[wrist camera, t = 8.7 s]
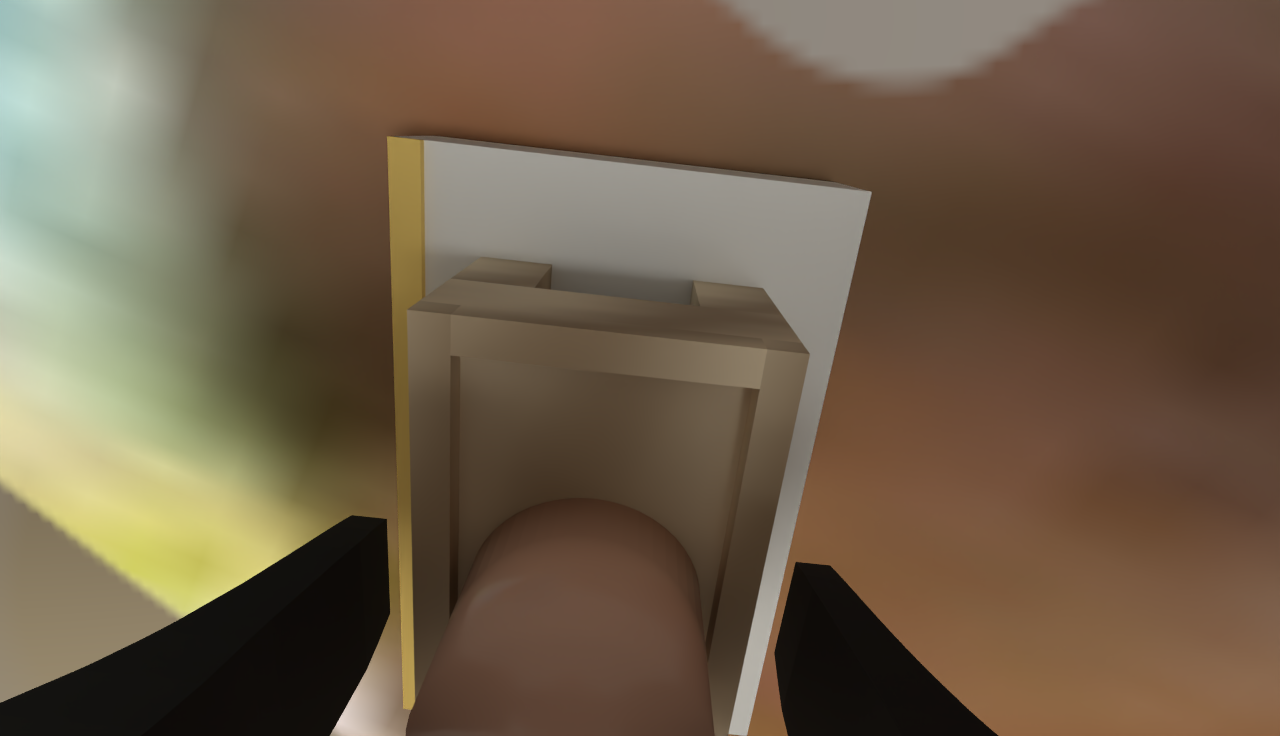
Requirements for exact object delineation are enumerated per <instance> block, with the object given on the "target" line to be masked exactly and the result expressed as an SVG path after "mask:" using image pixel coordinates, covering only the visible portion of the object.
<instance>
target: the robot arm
mask: <svg viewBox="0 0 1280 736" xmlns="http://www.w3.org/2000/svg"><path fill="white" fill-rule="evenodd" d="M389 615H390V597H389V569H388V542H387V519H382V518H372V517H363V516H353V515H352V516H350V517H348V518H346V519H345V520H343V521H341V522H340V523H338V524H336V525H335V526H333V527H331V528H330V529H328V530H327V531H325V532H323V533H322V534H320V535H319V536H317V537H316V538H314V539H313V540H311V541H309V542H308V543H306V544H305V545H303V546H302V547H300V548H298V549H297V550H295V551H294V552H292V553H291V554H289V555H287V556H286V557H284V558H283V559H281V560H279V561H278V562H276V563H275V564H273V565H271V566H270V567H268V568H267V569H265V570H263V571H262V572H260V573H259V574H257V575H255V576H254V577H252V578H251V579H249V580H247V581H246V582H244V583H242V584H241V585H239V586H237V587H235V588H234V589H232V590H230V591H228V592H227V593H225V594H223V595H221V596H220V597H218V598H216V599H214V600H213V601H211V602H209V603H207V604H206V605H204V606H202V607H200V608H199V609H197V610H195V611H193V612H192V613H190V614H188V615H186V616H185V617H183V618H181V619H179V620H178V621H176V622H174V623H172V624H170V625H168V626H166V627H165V628H163V629H161V630H159V631H157V632H155V633H153V634H151V635H149V636H147V637H145V638H143V639H141V640H139V641H137V642H135V643H133V644H131V645H129V646H127V647H125V648H123V649H121V650H119V651H117V652H115V653H113V654H111V655H109V656H106V657H104V658H102V659H100V660H98V661H96V662H94V663H92V664H90V665H88V666H85V667H83V668H81V669H79V670H76V671H74V672H72V673H69V674H67V675H65V676H62V677H60V678H58V679H55V680H53V681H51V682H48V683H46V684H44V685H41V686H39V687H36V688H34V689H32V690H29V691H27V692H25V693H22V694H20V695H18V696H16V697H13V698H11V699H8V700H6V701H4V702H1V703H0V736H330V734H331V732H332V730H333V729H334V727H335V725H336V723H337V722H338V720H339V718H340V716H341V715H342V713H343V711H344V709H345V708H346V706H347V704H348V702H349V700H350V699H351V697H352V695H353V693H354V691H355V690H356V688H357V686H358V684H359V683H360V681H361V679H362V677H363V675H364V673H365V672H366V670H367V668H368V665H369V663H370V661H371V658H372V656H373V654H374V651H375V649H376V647H377V644H378V642H379V639H380V637H381V634H382V632H383V629H384V627H385V625H386V622H387V620H388V617H389ZM774 653H775V661H776V669H777V678H778V686H779V693H780V700H781V707H782V712H783V717H784V721H785V725H786V729H787V733H788V736H998V735H997V734H996V733H994V732H993V731H992V730H991V729H990V728H989V727H987V726H986V725H985V724H984V723H983V722H982V721H981V720H980V719H978V718H977V717H976V716H975V715H974V714H973V713H972V712H971V711H969V710H968V709H967V708H966V707H965V706H964V705H963V704H962V703H961V702H960V701H959V700H958V699H957V698H956V697H955V696H954V695H953V694H952V693H951V692H949V691H948V690H947V689H946V688H945V687H944V686H943V685H942V684H941V683H940V682H939V681H938V680H937V679H936V678H935V677H934V676H933V675H932V674H931V673H930V672H929V671H928V670H927V669H926V668H925V667H924V666H923V665H922V664H921V663H920V662H919V661H918V660H917V659H916V658H915V657H914V656H913V655H912V654H911V653H910V652H909V651H908V650H907V649H906V648H905V647H904V646H903V645H902V643H901V642H900V641H899V640H898V639H897V638H896V637H895V636H894V635H893V634H892V633H891V632H890V631H889V630H888V628H887V627H886V626H885V625H884V624H883V623H882V622H881V621H880V620H879V619H878V618H877V616H876V615H875V614H874V613H873V612H872V611H871V610H870V609H869V608H868V607H867V605H866V604H865V603H864V602H863V601H862V600H861V599H860V598H859V597H858V595H857V594H856V593H855V592H854V591H853V590H852V589H851V588H850V586H849V585H848V584H847V583H846V582H845V581H844V580H843V579H842V578H841V577H840V576H839V574H838V573H837V572H836V571H835V570H834V569H833V568H832V567H831V566H829V565H819V564H810V563H800V562H796V563H795V568H794V572H793V576H792V580H791V585H790V589H789V593H788V597H787V601H786V606H785V610H784V614H783V618H782V623H781V627H780V631H779V635H778V640H777V644H776V648H775V652H774Z"/></svg>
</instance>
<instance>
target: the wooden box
mask: <svg viewBox="0 0 1280 736" xmlns="http://www.w3.org/2000/svg"><path fill="white" fill-rule="evenodd" d="M551 276H552V264H543V263H534V262H525V261H516V260H507V259H498V258H489V257H480V258H479V259H477V260H476V261H474V262H473V263H472V264H470V265H469V266H467V267H466V268H465V269H463V270H462V271H460V272H459V273H458V274H456V275H455V276H453V277H452V278H451V279H449V280H448V281H446V282H445V283H444V284H442V285H441V286H439V287H438V288H437V289H435V290H434V291H432V292H431V293H430V294H428V295H427V296H425V297H424V298H423V299H421V300H420V301H418V302H417V303H416V304H414V305H413V306H411V307H410V308H409V309H407V335H408V384H409V433H410V482H411V531H412V581H413V630H414V679H415V701H416V698H417V696H418V693H419V691H420V689H421V686H422V684H423V681H424V679H425V677H426V674H427V672H428V669H429V667H430V665H431V662H432V660H433V658H434V655H435V653H436V650H437V648H438V646H439V643H440V641H441V638H442V636H443V634H444V631H445V629H446V626H447V624H448V622H449V619H450V617H451V614H452V612H453V610H454V607H455V605H456V602H457V600H458V598H459V595H460V593H461V591H462V588H463V586H464V583H465V581H466V579H467V576H468V574H469V571H470V569H471V567H472V564H473V562H474V560H475V557H476V555H477V553H478V551H479V549H480V548H481V546H482V544H483V543H484V541H485V540H486V539H487V538H488V536H489V535H490V534H491V533H492V532H493V531H494V530H495V529H496V528H497V527H498V526H499V525H501V524H502V523H503V522H504V521H505V520H507V519H509V518H510V517H512V516H513V515H515V514H517V513H518V512H521V511H523V510H525V509H527V508H529V507H532V506H535V505H538V504H541V503H544V502H549V501H554V500H559V499H570V498H590V499H599V500H605V501H610V502H614V503H618V504H621V505H625V506H627V507H630V508H632V509H635V510H637V511H640V512H641V513H643V514H645V515H647V516H649V517H650V518H652V519H654V520H655V521H657V522H658V523H659V524H661V525H662V526H663V527H665V528H666V529H667V530H668V531H669V532H670V533H671V534H672V535H673V536H674V537H676V539H677V540H678V541H679V542H680V544H681V545H682V546H683V547H684V549H685V550H686V552H687V554H688V555H689V557H690V559H691V560H692V563H693V565H694V568H695V570H696V573H697V577H698V581H699V587H700V597H701V606H702V616H703V626H704V636H705V645H706V655H707V665H708V675H709V684H710V694H711V704H712V714H713V723H714V733H715V736H728V733H729V729H730V724H731V719H732V715H733V710H734V705H735V701H736V696H737V691H738V687H739V682H740V678H741V673H742V668H743V664H744V659H745V654H746V650H747V645H748V640H749V636H750V631H751V626H752V622H753V617H754V612H755V608H756V603H757V599H758V594H759V589H760V585H761V580H762V575H763V571H764V566H765V561H766V557H767V552H768V547H769V543H770V538H771V534H772V529H773V524H774V520H775V515H776V510H777V506H778V501H779V496H780V492H781V487H782V482H783V478H784V473H785V468H786V464H787V459H788V455H789V450H790V445H791V441H792V436H793V431H794V427H795V422H796V417H797V413H798V408H799V403H800V399H801V394H802V389H803V385H804V380H805V376H806V371H807V366H808V362H809V357H810V353H809V352H808V351H807V349H806V348H805V346H804V345H803V343H802V342H801V341H800V339H799V338H798V336H797V335H796V334H795V332H794V331H793V329H792V328H791V327H790V325H789V324H788V322H787V321H786V320H785V318H784V317H783V315H782V314H781V313H780V311H779V310H778V308H777V307H776V306H775V304H774V303H773V301H772V300H771V298H770V297H769V296H768V294H767V293H766V291H765V290H764V289H763V288H757V287H748V286H739V285H730V284H721V283H712V282H703V281H694V280H693V285H692V292H691V299H690V305H685V304H676V303H667V302H658V301H649V300H640V299H631V298H622V297H613V296H604V295H595V294H586V293H577V292H568V291H559V290H551Z"/></svg>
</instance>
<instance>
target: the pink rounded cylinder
mask: <svg viewBox="0 0 1280 736" xmlns="http://www.w3.org/2000/svg"><path fill="white" fill-rule="evenodd" d="M406 736H715V733H714V723H713V714H712V704H711V694H710V684H709V675H708V665H707V655H706V645H705V636H704V626H703V616H702V606H701V597H700V587H699V581H698V577H697V573H696V570H695V568H694V565H693V563H692V560H691V559H690V557H689V555H688V554H687V552H686V550H685V549H684V547H683V546H682V545H681V544H680V542H679V541H678V540H677V539H676V537H674V536H673V535H672V534H671V533H670V532H669V531H668V530H667V529H666V528H665V527H663V526H662V525H661V524H659V523H658V522H657V521H655V520H654V519H652V518H650V517H649V516H647V515H645V514H643V513H641V512H640V511H637V510H635V509H632V508H630V507H627V506H625V505H621V504H618V503H614V502H610V501H605V500H599V499H590V498H570V499H559V500H554V501H549V502H544V503H541V504H538V505H535V506H532V507H529V508H527V509H525V510H523V511H521V512H518V513H517V514H515V515H513V516H512V517H510V518H509V519H507V520H505V521H504V522H503V523H502V524H501V525H499V526H498V527H497V528H496V529H495V530H494V531H493V532H492V533H491V534H490V535H489V536H488V538H487V539H486V540H485V541H484V543H483V544H482V546H481V548H480V549H479V551H478V553H477V555H476V557H475V560H474V562H473V564H472V567H471V569H470V571H469V574H468V576H467V579H466V581H465V583H464V586H463V588H462V591H461V593H460V595H459V598H458V600H457V602H456V605H455V607H454V610H453V612H452V614H451V617H450V619H449V622H448V624H447V626H446V629H445V631H444V634H443V636H442V638H441V641H440V643H439V646H438V648H437V650H436V653H435V655H434V658H433V660H432V662H431V665H430V667H429V669H428V672H427V674H426V677H425V679H424V681H423V684H422V686H421V689H420V691H419V693H418V696H417V698H416V701H415V703H414V705H413V708H412V710H411V713H410V715H409V719H408V723H407V728H406Z"/></svg>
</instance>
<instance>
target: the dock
mask: <svg viewBox="0 0 1280 736" xmlns="http://www.w3.org/2000/svg"><path fill="white" fill-rule="evenodd" d="M387 147H388V182H389V217H390V252H391V287H392V322H393V358H394V393H395V428H396V463H397V498H398V533H399V568H400V604H401V639H402V674H403V709H411V710H412V708H413V705H414V703H415V679H414V630H413V581H412V531H411V482H410V433H409V384H408V335H407V309H409V308H410V307H411V306H413V305H414V304H416V303H417V302H418V301H420V300H421V299H423V298H424V297H425V296H427V295H428V294H430V293H431V292H432V291H434V290H435V289H437V288H438V287H439V286H441V285H442V284H444V283H445V282H446V281H448V280H449V279H451V278H452V277H453V276H455V275H456V274H458V273H459V272H460V271H462V270H463V269H465V268H466V267H467V266H469V265H470V264H472V263H473V262H474V261H476V260H477V259H479V258H480V257H489V258H498V259H507V260H516V261H525V262H534V263H543V264H552V276H551V290H559V291H568V292H577V293H586V294H595V295H604V296H613V297H622V298H631V299H640V300H649V301H658V302H667V303H676V304H685V305H690V299H691V292H692V285H693V280H694V281H703V282H712V283H721V284H730V285H739V286H748V287H757V288H763V289H764V290H765V291H766V293H767V294H768V296H769V297H770V298H771V300H772V301H773V303H774V304H775V306H776V307H777V308H778V310H779V311H780V313H781V314H782V315H783V317H784V318H785V320H786V321H787V322H788V324H789V325H790V327H791V328H792V329H793V331H794V332H795V334H796V335H797V336H798V338H799V339H800V341H801V342H802V343H803V345H804V346H805V348H806V349H807V351H808V352H809V353H810V357H809V362H808V366H807V371H806V376H805V380H804V385H803V389H802V394H801V399H800V403H799V408H798V413H797V417H796V422H795V427H794V431H793V436H792V441H791V445H790V450H789V455H788V459H787V464H786V468H785V473H784V478H783V482H782V487H781V492H780V496H779V501H778V506H777V510H776V515H775V520H774V524H773V529H772V534H771V538H770V543H769V547H768V552H767V557H766V561H765V566H764V571H763V575H762V580H761V585H760V589H759V594H758V599H757V603H756V608H755V612H754V617H753V622H752V626H751V631H750V636H749V640H748V645H747V650H746V654H745V659H744V664H743V668H742V673H741V678H740V682H739V687H738V691H737V696H736V701H735V705H734V710H733V715H732V719H731V724H730V729H729V733H728V734H734V735H744V736H747V733H748V728H749V724H750V720H751V715H752V711H753V707H754V702H755V698H756V693H757V689H758V685H759V680H760V676H761V672H762V667H763V663H764V659H765V654H766V650H767V646H768V641H769V637H770V633H771V628H772V624H773V620H774V615H775V611H776V607H777V602H778V598H779V593H780V589H781V585H782V580H783V576H784V572H785V567H786V563H787V559H788V554H789V550H790V546H791V541H792V537H793V533H794V528H795V524H796V520H797V515H798V511H799V506H800V502H801V498H802V493H803V489H804V485H805V480H806V476H807V472H808V467H809V463H810V459H811V454H812V450H813V446H814V441H815V437H816V433H817V428H818V424H819V419H820V415H821V411H822V406H823V402H824V398H825V393H826V389H827V385H828V380H829V376H830V372H831V367H832V363H833V359H834V354H835V350H836V346H837V341H838V337H839V333H840V328H841V324H842V319H843V315H844V311H845V306H846V302H847V298H848V293H849V289H850V285H851V280H852V276H853V272H854V267H855V263H856V259H857V254H858V250H859V246H860V241H861V237H862V232H863V228H864V224H865V219H866V215H867V211H868V206H869V202H870V198H871V193H872V192H870V191H867V190H863V189H859V188H855V187H852V186H848V185H844V184H840V183H837V182H829V181H821V180H812V179H804V178H795V177H786V176H778V175H769V174H760V173H752V172H743V171H735V170H726V169H717V168H709V167H700V166H692V165H683V164H674V163H666V162H657V161H648V160H640V159H631V158H623V157H614V156H605V155H597V154H588V153H580V152H571V151H562V150H554V149H545V148H536V147H528V146H519V145H511V144H502V143H493V142H485V141H476V140H468V139H459V138H450V137H442V136H387Z"/></svg>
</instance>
